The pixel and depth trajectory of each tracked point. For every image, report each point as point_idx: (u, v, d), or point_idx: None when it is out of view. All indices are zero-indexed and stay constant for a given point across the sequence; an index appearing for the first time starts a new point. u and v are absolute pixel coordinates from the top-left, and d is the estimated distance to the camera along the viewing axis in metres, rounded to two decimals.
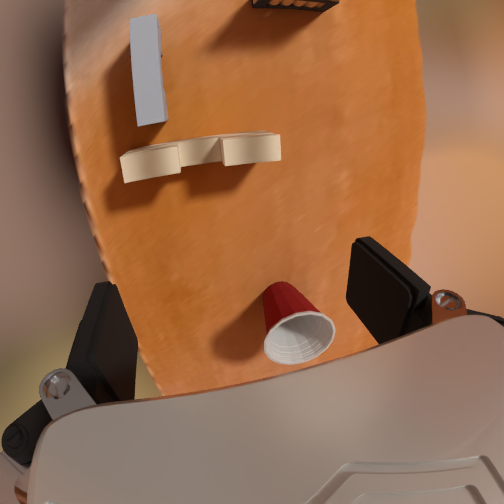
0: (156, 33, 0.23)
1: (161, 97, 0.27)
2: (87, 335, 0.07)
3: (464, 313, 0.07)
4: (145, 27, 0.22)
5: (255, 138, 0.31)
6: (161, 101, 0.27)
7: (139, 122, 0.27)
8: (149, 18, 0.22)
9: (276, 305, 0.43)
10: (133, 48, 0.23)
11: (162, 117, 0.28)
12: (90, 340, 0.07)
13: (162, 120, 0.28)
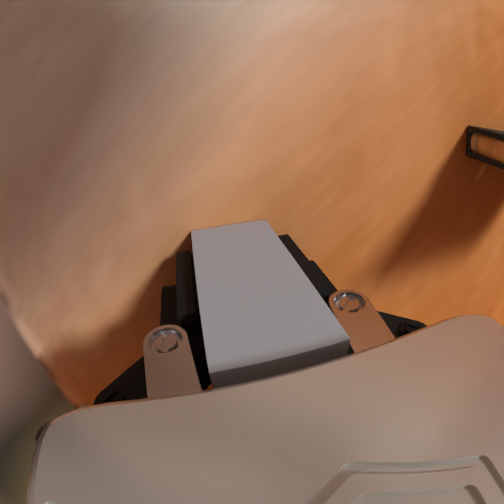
0: None
1: None
2: (188, 293, 0.08)
3: (372, 309, 0.07)
4: None
5: None
6: None
7: None
8: (314, 362, 0.06)
9: None
10: None
11: None
12: (194, 297, 0.08)
13: None
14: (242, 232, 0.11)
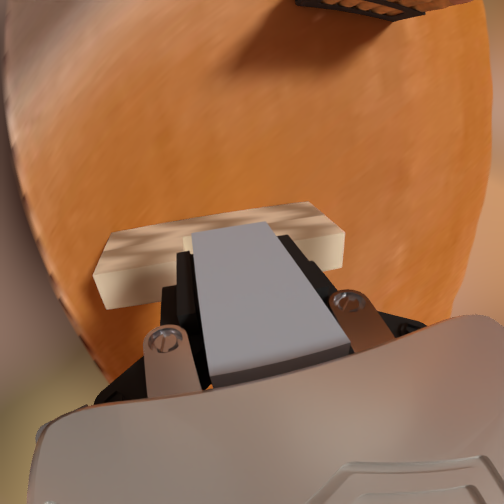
0: None
1: None
2: (188, 293, 0.08)
3: (372, 309, 0.07)
4: None
5: (309, 240, 0.20)
6: None
7: None
8: None
9: None
10: None
11: None
12: (193, 297, 0.08)
13: None
14: (242, 234, 0.11)
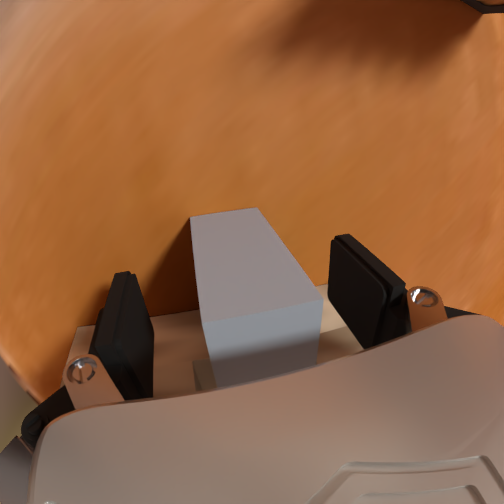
0: None
1: None
2: (111, 321, 0.07)
3: (442, 309, 0.07)
4: (274, 354, 0.08)
5: None
6: None
7: None
8: (292, 319, 0.07)
9: None
10: None
11: None
12: (114, 326, 0.07)
13: None
14: (235, 217, 0.12)
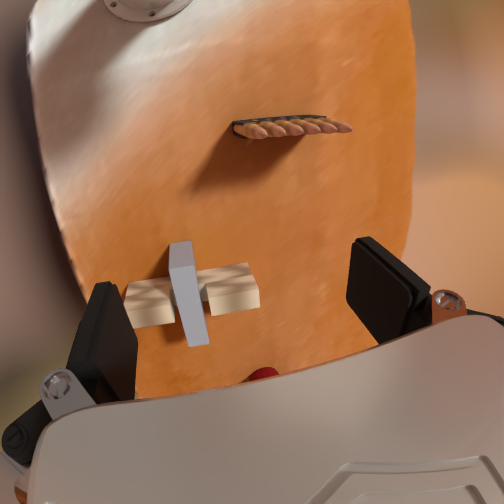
0: (196, 283, 0.35)
1: (205, 329, 0.39)
2: (87, 335, 0.07)
3: (464, 313, 0.07)
4: (185, 278, 0.35)
5: (236, 294, 0.37)
6: (206, 332, 0.39)
7: (190, 344, 0.39)
8: (187, 269, 0.34)
9: None
10: (177, 295, 0.35)
11: (207, 341, 0.40)
12: (90, 341, 0.07)
13: (207, 343, 0.40)
14: (183, 244, 0.39)
